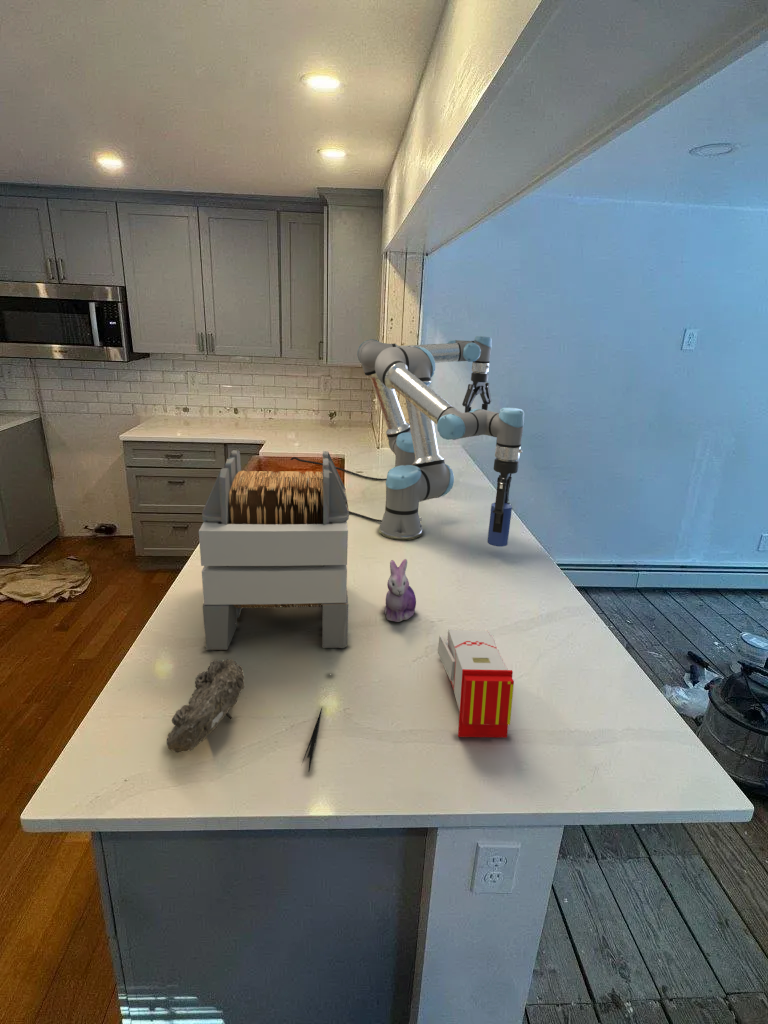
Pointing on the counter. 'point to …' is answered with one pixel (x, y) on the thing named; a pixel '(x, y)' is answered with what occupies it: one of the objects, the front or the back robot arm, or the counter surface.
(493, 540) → the can
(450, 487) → the front robot arm
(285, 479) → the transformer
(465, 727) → the toy
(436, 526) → the counter surface
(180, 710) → the fossil
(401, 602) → the figurine
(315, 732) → the feather
